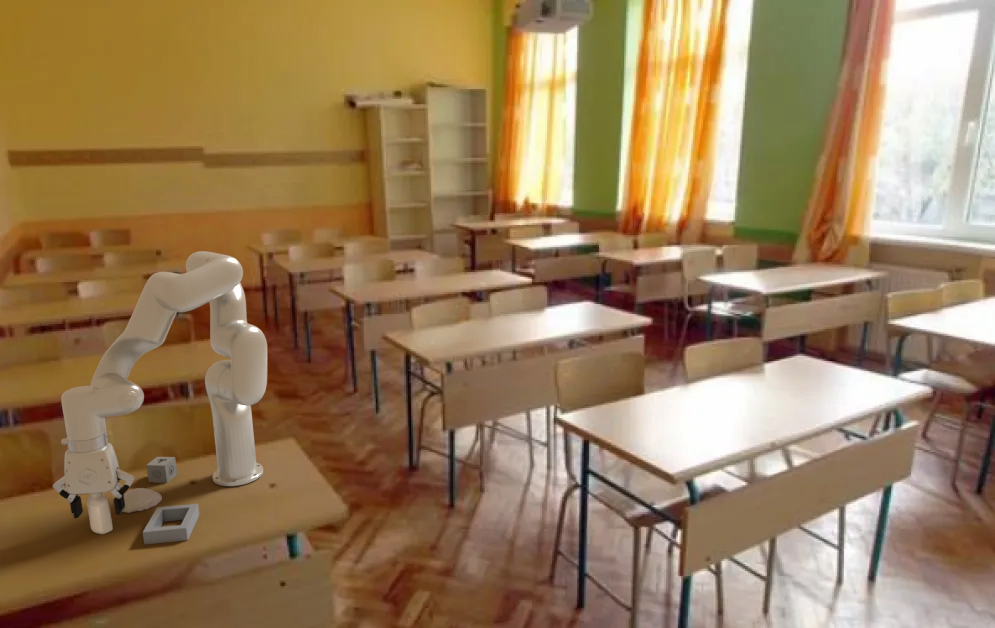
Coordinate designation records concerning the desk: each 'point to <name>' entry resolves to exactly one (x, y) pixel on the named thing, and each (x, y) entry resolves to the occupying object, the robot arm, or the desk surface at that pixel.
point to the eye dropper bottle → (99, 513)
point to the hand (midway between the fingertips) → (99, 513)
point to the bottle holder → (171, 533)
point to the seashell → (140, 499)
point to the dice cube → (162, 469)
